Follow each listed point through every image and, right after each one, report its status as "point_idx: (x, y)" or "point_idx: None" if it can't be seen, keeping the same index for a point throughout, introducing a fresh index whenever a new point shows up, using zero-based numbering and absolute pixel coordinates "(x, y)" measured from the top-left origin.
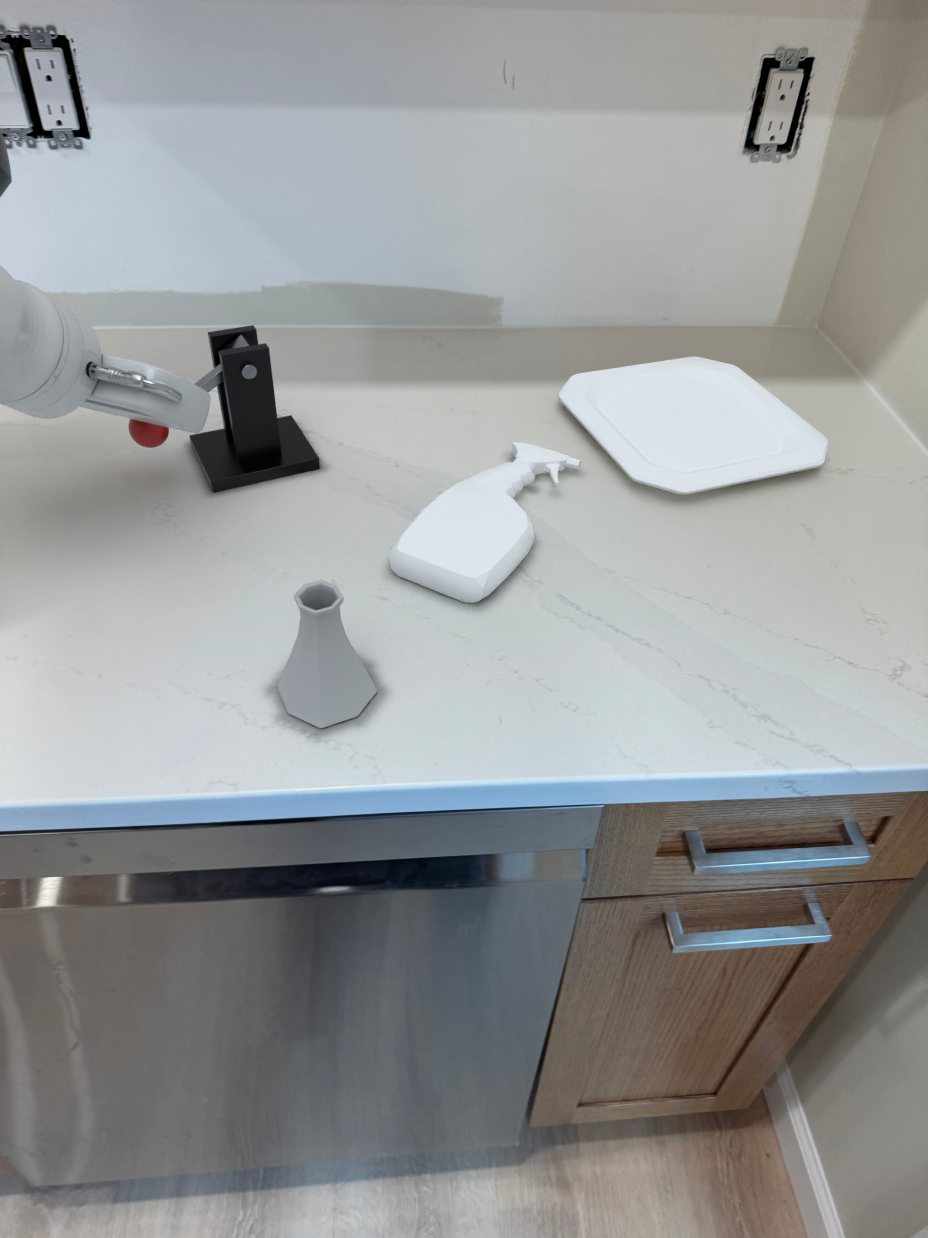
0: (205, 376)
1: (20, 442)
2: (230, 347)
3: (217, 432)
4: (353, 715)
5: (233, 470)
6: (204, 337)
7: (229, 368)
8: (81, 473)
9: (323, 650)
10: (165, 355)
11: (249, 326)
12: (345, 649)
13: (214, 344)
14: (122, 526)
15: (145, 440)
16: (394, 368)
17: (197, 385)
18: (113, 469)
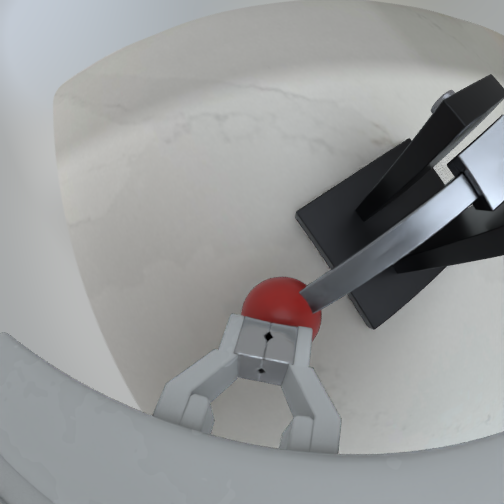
0: (421, 216)
1: (84, 260)
2: (492, 153)
3: (335, 195)
4: None
5: (395, 293)
6: (216, 22)
7: None
8: (169, 316)
9: None
10: (184, 53)
11: (491, 79)
12: None
13: (456, 137)
14: (272, 418)
15: None
16: (429, 48)
17: (404, 243)
18: (206, 300)
